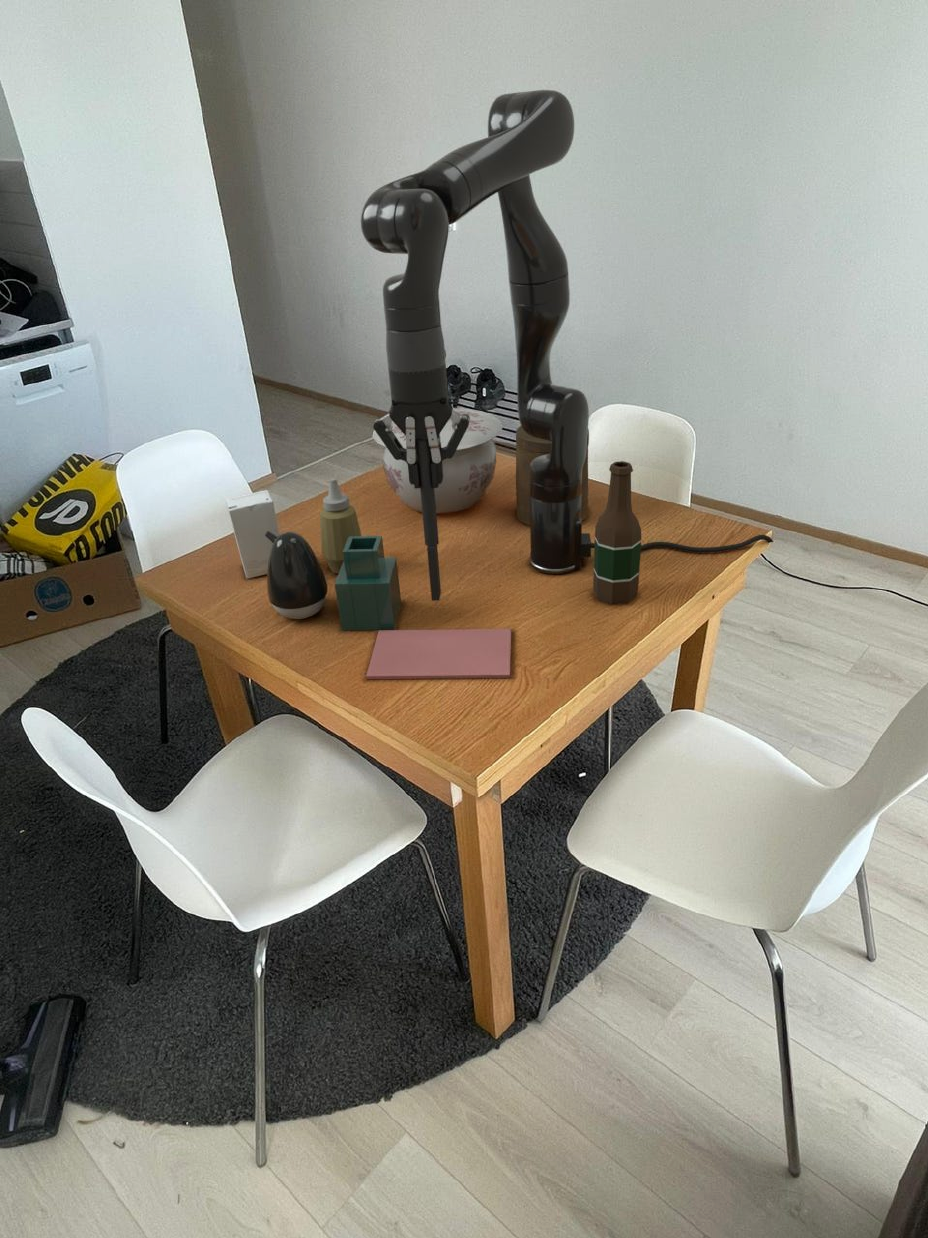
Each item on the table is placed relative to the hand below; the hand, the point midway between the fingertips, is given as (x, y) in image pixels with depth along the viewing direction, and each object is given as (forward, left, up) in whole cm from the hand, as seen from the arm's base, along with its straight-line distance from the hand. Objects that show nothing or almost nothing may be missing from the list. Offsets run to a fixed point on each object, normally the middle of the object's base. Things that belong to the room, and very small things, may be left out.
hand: (427, 485), depth 116 cm
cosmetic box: (+37, -30, -29) cm, 56 cm away
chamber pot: (+5, -60, -29) cm, 67 cm away
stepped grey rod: (0, 0, -18) cm, 18 cm away
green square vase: (+13, -12, -29) cm, 34 cm away
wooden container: (-19, -52, -29) cm, 62 cm away
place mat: (0, 0, -29) cm, 29 cm away
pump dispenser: (+26, -14, -29) cm, 41 cm away
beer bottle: (-29, -18, -29) cm, 45 cm away
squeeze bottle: (+21, -30, -29) cm, 47 cm away
